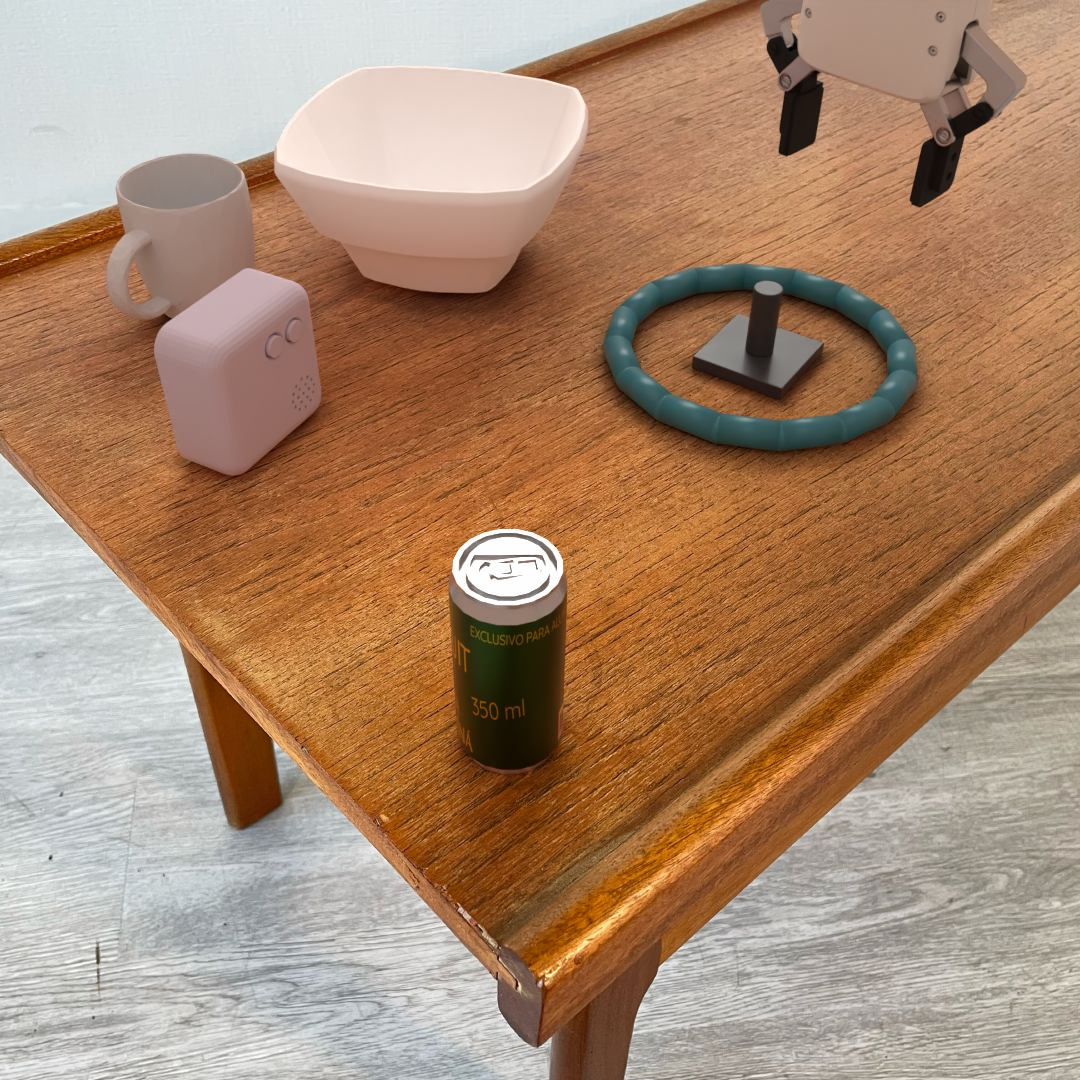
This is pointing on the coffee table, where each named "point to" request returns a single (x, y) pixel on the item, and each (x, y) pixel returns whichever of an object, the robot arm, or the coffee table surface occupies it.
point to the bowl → (432, 169)
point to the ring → (751, 428)
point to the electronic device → (239, 370)
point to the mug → (180, 232)
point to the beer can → (508, 648)
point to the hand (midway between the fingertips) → (859, 173)
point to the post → (759, 348)
